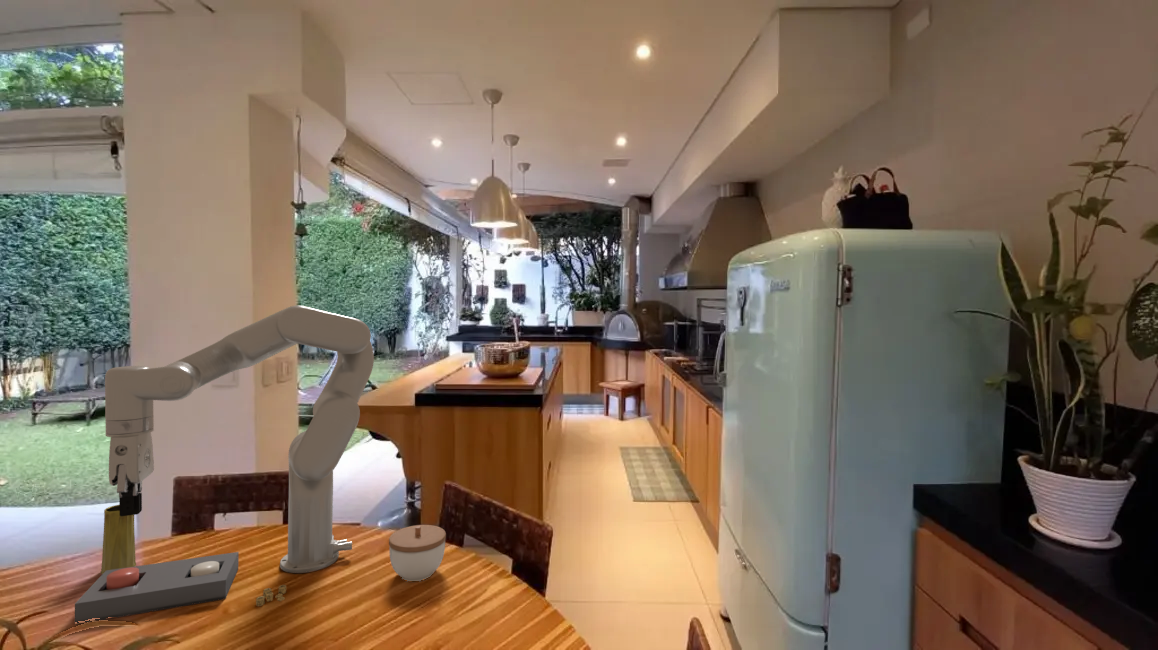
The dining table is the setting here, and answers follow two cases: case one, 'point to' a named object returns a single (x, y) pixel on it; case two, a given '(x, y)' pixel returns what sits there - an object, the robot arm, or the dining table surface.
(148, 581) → the button panel
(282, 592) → the dice set
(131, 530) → the vase
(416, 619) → the dining table surface
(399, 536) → the lidded bowl
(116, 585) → the red button
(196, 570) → the ivory button
